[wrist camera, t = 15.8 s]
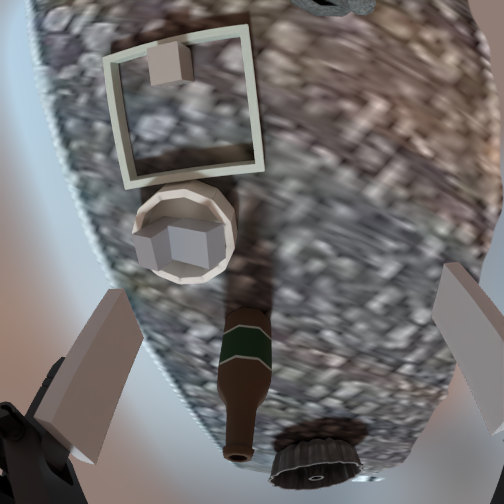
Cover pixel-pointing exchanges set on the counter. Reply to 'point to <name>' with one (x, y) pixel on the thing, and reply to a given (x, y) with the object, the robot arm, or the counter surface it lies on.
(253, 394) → the beer bottle
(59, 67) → the counter surface
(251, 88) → the square frame
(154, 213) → the bowl
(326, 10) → the mortar and pestle
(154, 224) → the grey rectangular block
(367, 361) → the counter surface
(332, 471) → the bundt pan
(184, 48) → the taupe block
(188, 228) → the light grey cuboid
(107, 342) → the robot arm
